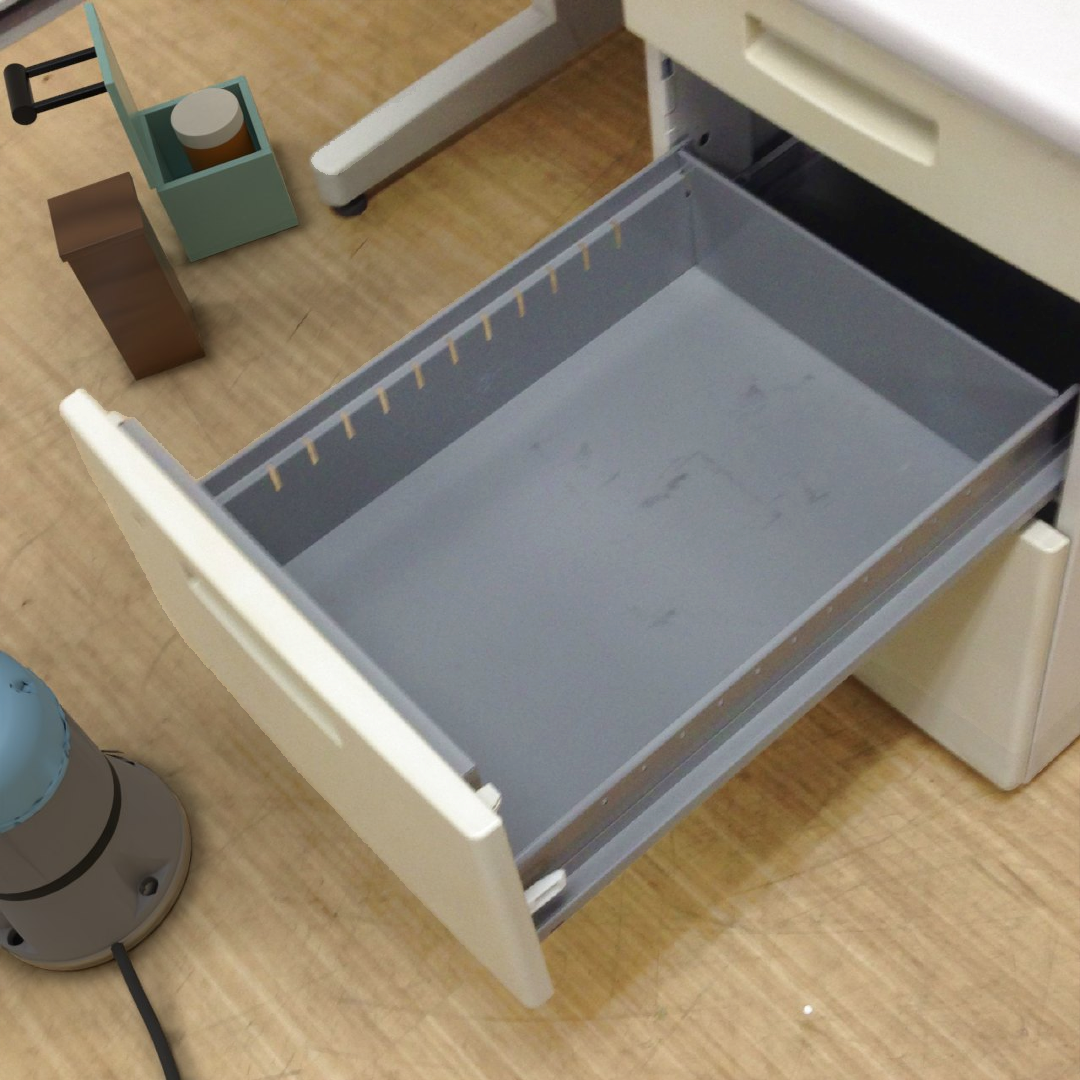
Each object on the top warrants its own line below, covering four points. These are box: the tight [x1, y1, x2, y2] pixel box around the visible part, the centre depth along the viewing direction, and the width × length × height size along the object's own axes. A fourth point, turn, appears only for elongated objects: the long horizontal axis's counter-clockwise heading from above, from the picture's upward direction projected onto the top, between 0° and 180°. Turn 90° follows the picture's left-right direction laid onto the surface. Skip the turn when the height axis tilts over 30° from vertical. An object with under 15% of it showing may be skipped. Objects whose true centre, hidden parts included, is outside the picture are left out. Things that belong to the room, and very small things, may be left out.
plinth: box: [46, 171, 206, 381], centre depth 128 cm, size 7×7×16 cm
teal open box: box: [138, 74, 300, 263], centre depth 140 cm, size 11×12×9 cm
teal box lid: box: [2, 1, 159, 190], centre depth 130 cm, size 11×12×9 cm
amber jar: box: [171, 88, 257, 173], centre depth 139 cm, size 6×6×10 cm
